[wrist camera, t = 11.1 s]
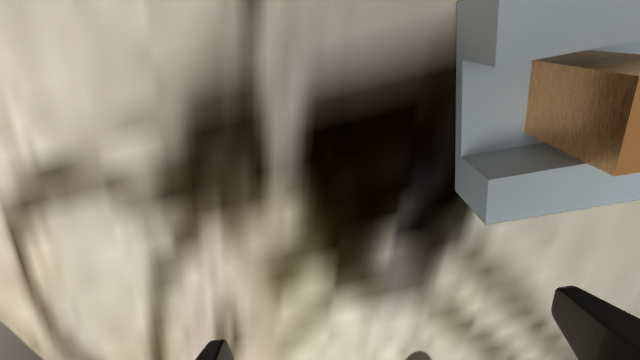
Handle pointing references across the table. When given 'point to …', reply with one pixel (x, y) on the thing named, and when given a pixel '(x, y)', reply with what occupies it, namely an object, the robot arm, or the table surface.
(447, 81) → the table surface
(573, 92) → the brown wooden block
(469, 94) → the bracket
